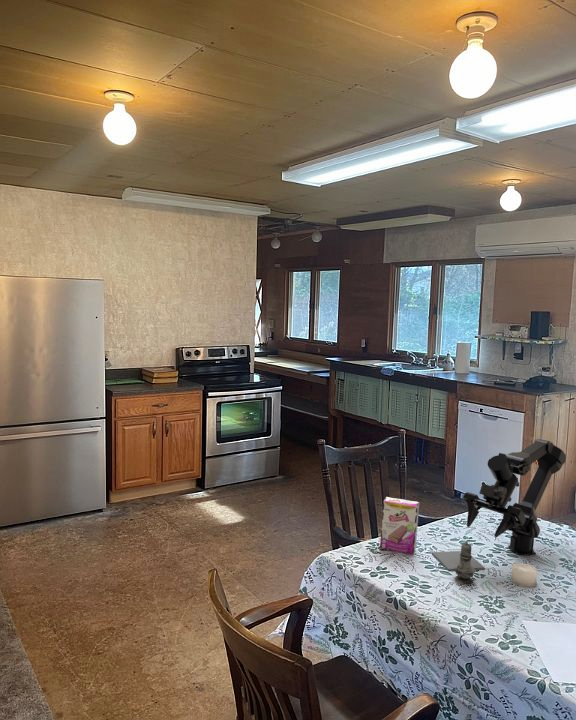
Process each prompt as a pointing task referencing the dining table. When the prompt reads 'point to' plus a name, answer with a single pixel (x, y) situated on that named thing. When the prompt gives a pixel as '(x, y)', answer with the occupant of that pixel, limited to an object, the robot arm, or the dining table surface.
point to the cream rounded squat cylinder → (524, 574)
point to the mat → (454, 560)
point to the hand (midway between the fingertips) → (481, 531)
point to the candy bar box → (399, 525)
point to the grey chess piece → (464, 565)
